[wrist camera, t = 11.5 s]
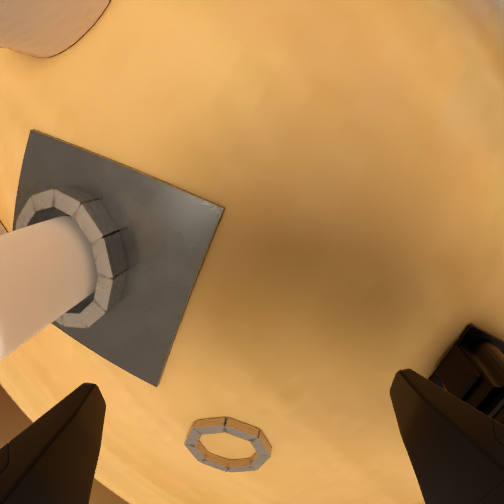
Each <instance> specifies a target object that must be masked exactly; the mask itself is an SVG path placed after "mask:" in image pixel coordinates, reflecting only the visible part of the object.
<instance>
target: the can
mask: <svg viewBox="0 0 504 504" xmlns="http://www.w3.org/2000/svg"><path fill="white" fill-rule="evenodd" d="M97 279H98V272H97V268H96V264H95V259H94V255H93V251H92V246H91V243H90V241H89V240H88V238H87V237H86V235H85V234H84V232H83V231H82V229H81V228H80V226H79V225H78V223H77V222H76V220H75V218H74V217H71V216H61V217H57V218H54V219H50V220H47V221H43V222H40V223H37V224H33V225H30V226H27V227H24V228H21V229H18V230H15V231H12V232H9V233H6V234H3V235H0V361H1V360H3V359H4V358H5V357H7V356H8V355H10V354H11V353H12V352H13V351H15V350H16V349H17V348H19V347H20V346H21V345H23V344H24V343H25V342H27V341H28V340H29V339H30V338H32V337H33V336H34V335H36V334H37V333H38V332H40V331H41V330H42V329H44V328H45V327H46V326H48V325H49V324H51V323H52V322H53V321H55V320H56V319H57V318H59V317H60V316H61V315H63V314H64V313H65V312H67V311H68V310H70V309H71V308H72V307H74V306H75V305H76V304H78V303H79V302H81V301H82V300H83V299H85V298H86V297H88V296H89V295H90V294H91V293H93V292H94V291H95V290H96V284H97Z"/></svg>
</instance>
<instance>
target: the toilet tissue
mask: <svg viewBox="0 0 504 504" xmlns="http://www.w3.org/2000/svg"><path fill="white" fill-rule="evenodd" d="M109 1H110V0H0V48H4V49H9V50H13V51H16V52H20V53H25V54H28V55H31V56H35V57H40V58H44V57H50V56H53V55H56V54H58V53H60V52H62V51H64V50H65V49H67V48H68V47H70V46H71V45H73V44H74V43H75V42H76V41H77V40H78V39H80V38H81V37H82V36H83V35H84V34H85V33H86V32H87V31H88V30H89V29H90V28H91V27H92V26H93V24H94V23H95V22H96V20H97V19H98V18H99V17H100V16H101V14H102V12H103V11H104V9H105V8H106V6H107V5H108V3H109Z"/></svg>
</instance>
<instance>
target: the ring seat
mask: <svg viewBox="0 0 504 504" xmlns="http://www.w3.org/2000/svg"><path fill="white" fill-rule="evenodd" d="M223 211H224V207H222V206H219V205H217V204H215V203H213V202H210V201H208V200H206V199H203V198H201V197H199V196H196V195H194V194H192V193H190V192H187V191H185V190H183V189H180V188H178V187H176V186H173V185H171V184H168V183H166V182H164V181H161V180H159V179H157V178H154V177H152V176H149V175H147V174H145V173H142V172H140V171H137V170H135V169H133V168H130V167H128V166H125V165H123V164H120V163H118V162H115V161H113V160H111V159H108V158H106V157H103V156H101V155H98V154H96V153H93V152H91V151H88V150H86V149H83V148H80V147H78V146H75V145H73V144H70V143H68V142H65V141H62V140H60V139H57V138H55V137H52V136H49V135H47V134H44V133H42V132H39V131H36V130H30V134H29V138H28V142H27V146H26V150H25V154H24V159H23V164H22V169H21V174H20V179H19V185H18V191H17V197H16V204H15V212H14V221H13V231H15V230H18V229H21V228H24V227H27V226H30V225H33V224H37V223H40V222H43V221H47V220H50V219H54V218H57V217H61V216H71V217H74V218H75V220H76V222H77V223H78V225H79V226H80V228H81V229H82V231H83V232H84V234H85V235H86V237H87V238H88V240H89V241H90V243H91V246H92V251H93V255H94V259H95V264H96V268H97V272H98V279H97V284H96V290H95V291H94V292H93V293H91V294H90V295H89V296H88V297H86V298H85V299H83V300H82V301H81V302H79V303H78V304H76V305H75V306H74V307H72V308H71V309H70V310H68V311H67V312H65V313H64V314H63V315H61V316H60V317H59V318H57V319H56V320H55V321H53V322H52V324H53V325H55V326H56V327H58V328H59V329H60V330H62V331H63V332H65V333H66V334H68V335H69V336H71V337H72V338H74V339H75V340H77V341H78V342H80V343H81V344H83V345H84V346H86V347H87V348H89V349H90V350H92V351H94V352H95V353H97V354H98V355H100V356H102V357H103V358H105V359H107V360H108V361H110V362H112V363H113V364H115V365H117V366H118V367H120V368H122V369H124V370H125V371H127V372H129V373H131V374H133V375H134V376H136V377H138V378H140V379H142V380H144V381H146V382H148V383H150V384H151V385H153V386H155V387H157V386H158V384H159V381H160V379H161V376H162V373H163V370H164V367H165V364H166V361H167V358H168V355H169V352H170V350H171V347H172V344H173V341H174V338H175V336H176V333H177V330H178V327H179V325H180V322H181V319H182V316H183V314H184V311H185V308H186V305H187V303H188V300H189V297H190V295H191V292H192V289H193V287H194V284H195V282H196V279H197V276H198V274H199V271H200V269H201V266H202V263H203V261H204V258H205V256H206V253H207V251H208V248H209V246H210V243H211V241H212V238H213V236H214V233H215V231H216V228H217V226H218V223H219V221H220V218H221V216H222V213H223Z"/></svg>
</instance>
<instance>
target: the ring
mask: <svg viewBox="0 0 504 504" xmlns="http://www.w3.org/2000/svg"><path fill="white" fill-rule="evenodd" d="M223 432H226V433H228V434H231V435H234V436H236V437H239V438H242V439H245V440H248V441H250V442H251V444H252V445H253V447H254V448H255V450H256V451H257V452H256V453H255V454H254V455H253V456H252V457H251V458H247V459H236V460H228V459H225V458H222V457H220V456H217V455H214V454H211V453H209V452H208V451H207V450H206V449H205V448H204V446H203V445H202V444H201V443H200V441H199V438H200V436H201V435H202V434H213V433H223ZM184 443H185V446H186V447H187V448H188V449H189V451H190V452H191V453H192V454H193V455H194V457H195V458H196V459H197V460H198V461H201V463H203V464H206V465H209V466H211V467H214V468H217V469H220V470H223V471H226V472H227V471H229V472H242V471H254V470H256V469H257V470H258V469H259V468H260V467H261V466H262V465H263V464H264V463H265V462H266V461H267V460H268V459H269V458H270V457H271V448H272V447H271V446H270V444H269V443H268V441H267V439H266V438H265V436H264V434H263V433H262V431H261V430H259V428H256V427H253V426H251V425H248V424H245V423H242V422H240V421H237V420H234V419H232V418H229V417H228V418H226V417H220V418H212V419H203V420H197V421H195V422H194V424H193V426H192V428H191V430H190V432H189V433H188V435H187V437H186V440H185V442H184Z"/></svg>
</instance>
